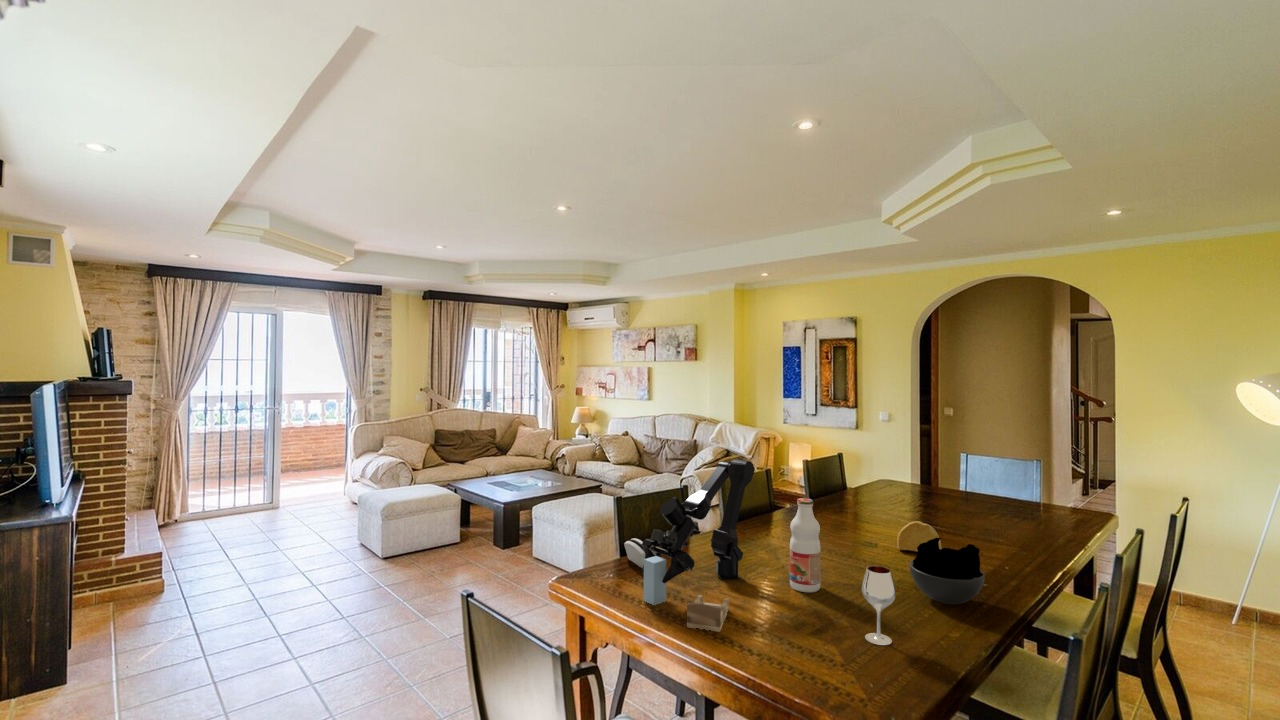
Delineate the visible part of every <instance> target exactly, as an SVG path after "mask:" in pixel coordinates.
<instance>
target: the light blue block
mask: <svg viewBox="0 0 1280 720" xmlns="http://www.w3.org/2000/svg"><path fill="white" fill-rule="evenodd" d="M666 572H667V559H666V558H664V557H661V556H659V557H658V556H654V557H651V558H647V559H644V575H643V602H644V601H645V603H646V602H647V603H646V604H648V603H650V604H652V605H655V606H657V605H656V604H658V605H660V604H659V603H661V604H663V603H662V602H664V603H666V602H667V582H666V583H663V582H662V580H663V578H664V576H665V574H666ZM665 601H666V602H665ZM650 604H649V605H650ZM652 605H651V606H652Z"/></svg>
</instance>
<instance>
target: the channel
mask: <svg viewBox="0 0 1280 720" xmlns="http://www.w3.org/2000/svg"><path fill="white" fill-rule="evenodd" d="M729 600H730V598H725V597H724V599H723V601H722V603H721V604H718V603H709V602H703V594H701V595H700V594H698V595H697V597H695V600H694V602H687V604H686V627H687V628H689V629H696V628H699V629H698V630H703V629H705V630H704V631H709V630H711V631H710V632H718V633H720V632H721V630H722V628H723V625H724V623H725V620H726V618H727V614H728V613H727V612H729V610H730V609H729V607H730V605H729V603H730V601H729Z"/></svg>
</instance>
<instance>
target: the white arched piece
mask: <svg viewBox="0 0 1280 720" xmlns="http://www.w3.org/2000/svg"><path fill="white" fill-rule="evenodd" d="M642 543H643V541H642V540H641V539H639V538H631V539H629V540H627V541H625V542H624V543H623V545H624V548H625V552H626V556H627V559H628V560H629V561H631V562H632V563H634V564H635V565H637V566H638V567H639V568H641V569H643V564H644V559H645V550H644V549H643V546H642Z"/></svg>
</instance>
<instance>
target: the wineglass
mask: <svg viewBox="0 0 1280 720" xmlns="http://www.w3.org/2000/svg"><path fill="white" fill-rule="evenodd" d="M864 572H865V573H864V576H863V579H862V583H861V584H862V585H861V592H862V593H861V594H862V595H863V598H864V599H865V600H866V602H867V603H868V604H870V605H871V606H872V607H873V609H875V611H876V632H870V633H867V634H865V636H864V638H865V640H866V641H867V642H869V643H871V644H873V645H878V646H889V645H891V644H892V643H893V640H892V638H891V637H889V636H888V635H885V634H882V633H881V612H882V611H883V610H884V609H885V608H887V607H888V606H890V605H891V604H893V602H894V601H895V599H896V596H897V595H896V594H897V591H896V586H895V582H894V578H893V575H892V572H891V570H890V568H888V567H884V566H881V565H870V566H867V567H866V569H865V571H864Z"/></svg>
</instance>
